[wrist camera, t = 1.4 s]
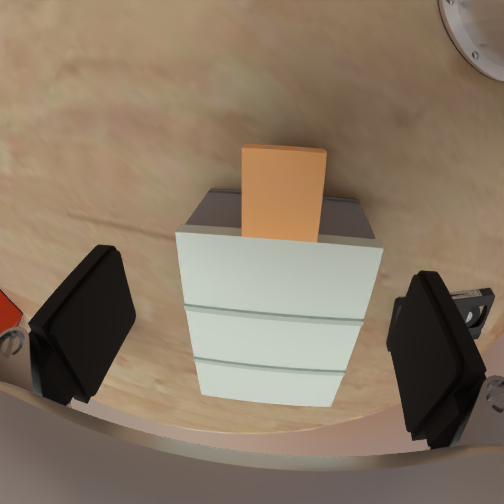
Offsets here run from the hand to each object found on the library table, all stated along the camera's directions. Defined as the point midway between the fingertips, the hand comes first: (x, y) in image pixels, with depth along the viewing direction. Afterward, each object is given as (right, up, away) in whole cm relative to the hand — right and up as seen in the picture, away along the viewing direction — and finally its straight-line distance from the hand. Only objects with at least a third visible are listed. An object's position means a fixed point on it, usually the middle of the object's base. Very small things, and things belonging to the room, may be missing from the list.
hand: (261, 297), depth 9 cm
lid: (+2, -3, +16) cm, 16 cm away
